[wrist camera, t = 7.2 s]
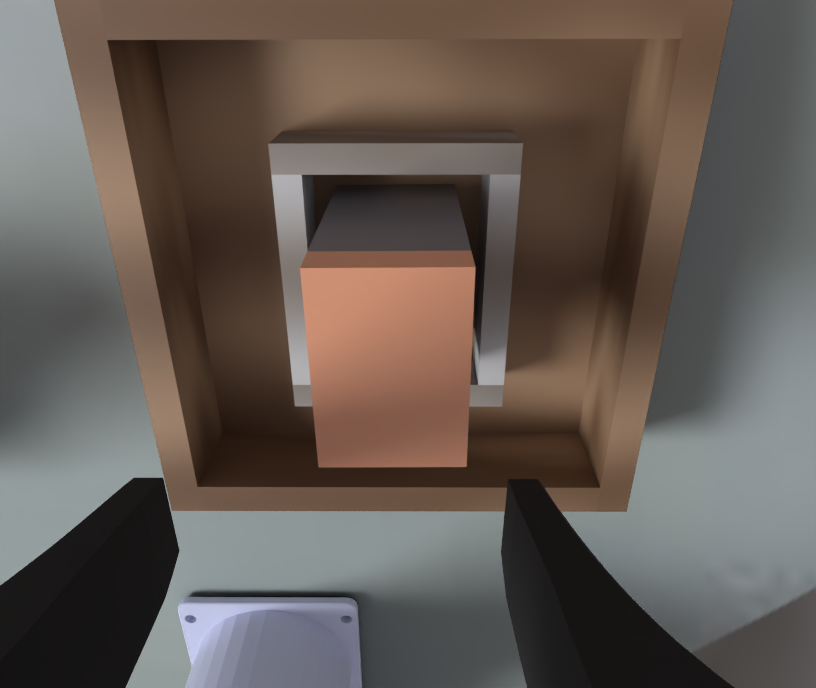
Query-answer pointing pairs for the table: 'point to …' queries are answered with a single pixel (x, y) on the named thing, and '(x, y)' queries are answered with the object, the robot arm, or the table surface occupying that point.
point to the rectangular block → (390, 327)
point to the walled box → (396, 165)
